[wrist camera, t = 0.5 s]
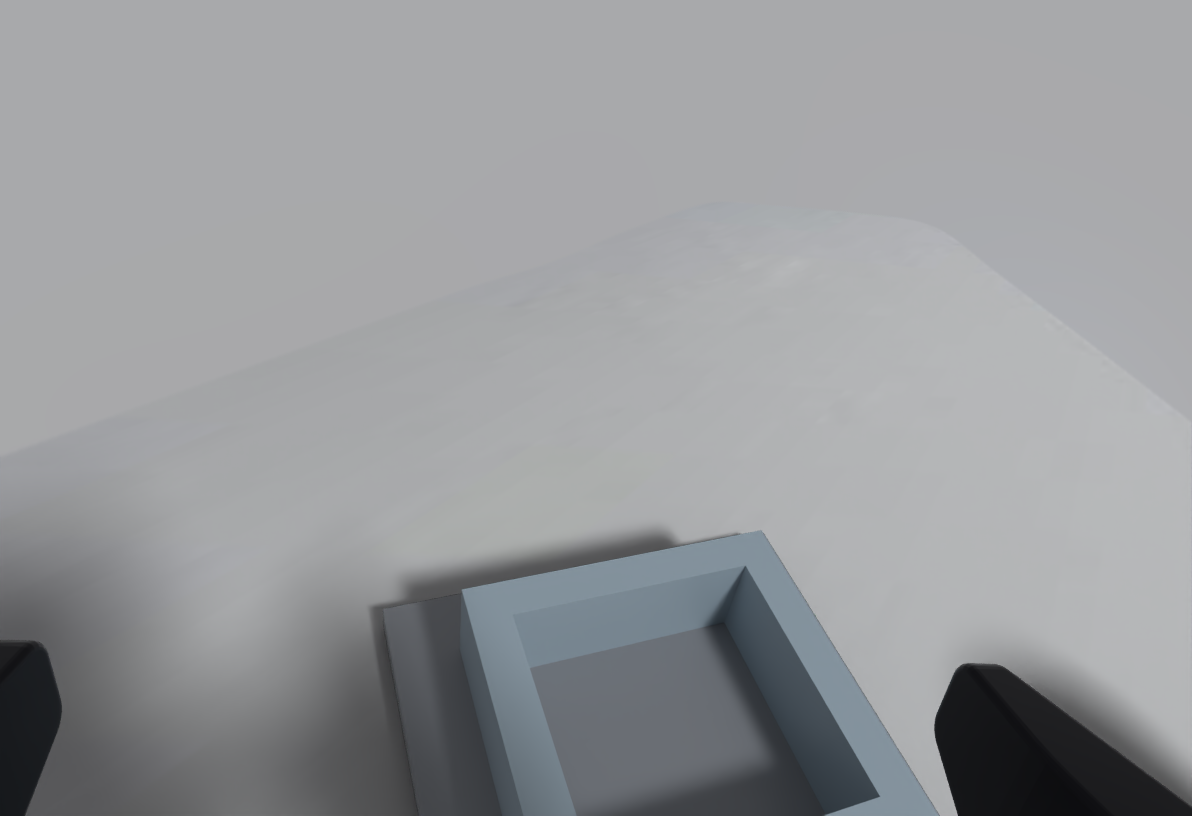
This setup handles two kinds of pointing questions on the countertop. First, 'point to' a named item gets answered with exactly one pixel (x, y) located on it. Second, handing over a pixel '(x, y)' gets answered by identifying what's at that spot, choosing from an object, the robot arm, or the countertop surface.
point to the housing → (640, 695)
